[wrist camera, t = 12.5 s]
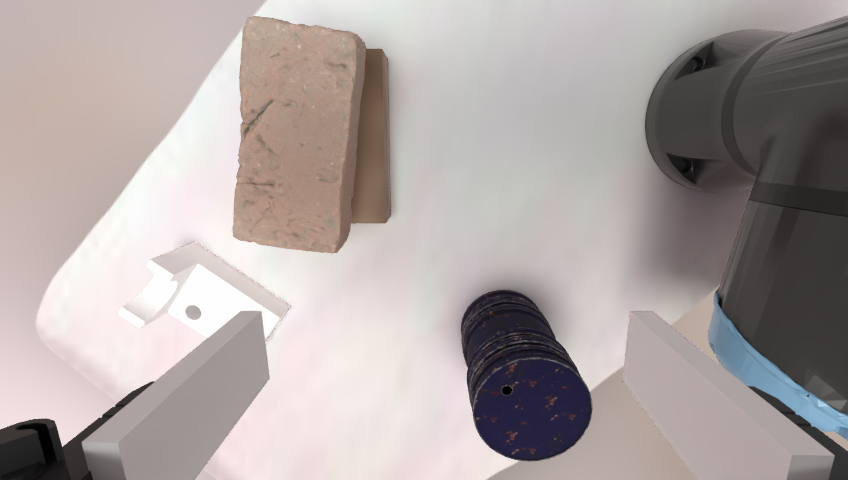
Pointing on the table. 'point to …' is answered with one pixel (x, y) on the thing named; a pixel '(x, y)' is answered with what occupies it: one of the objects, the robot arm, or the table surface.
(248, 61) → the brick
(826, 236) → the robot arm
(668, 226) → the table surface
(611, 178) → the table surface
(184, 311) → the bracket
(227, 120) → the table surface
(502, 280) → the table surface
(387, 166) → the tower base
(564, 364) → the dark blue barrel
